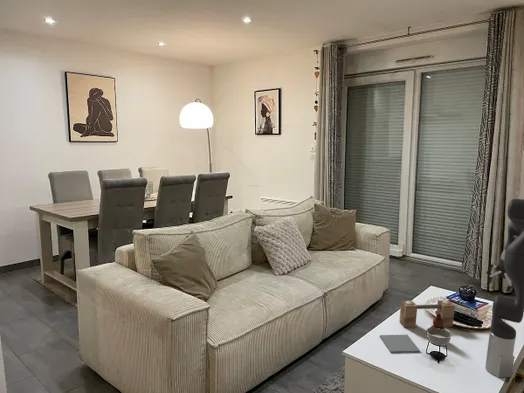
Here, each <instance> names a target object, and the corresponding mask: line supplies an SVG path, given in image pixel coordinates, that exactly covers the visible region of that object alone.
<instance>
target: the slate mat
mask: <svg viewBox="0 0 524 393" xmlns="http://www.w3.org/2000/svg"><path fill="white" fill-rule="evenodd" d="M379 338H380V339H381V341H382V342H383V344H384V346H385V347H386V348H387V350H388V351H389V353H390V354H401V353H405V354H406V353H421V350H420V348H419V347H418V346H417V345H416V343H415V342H414V341H413V340H412V339H411V337H410V336H409V335H408V334H379Z"/></svg>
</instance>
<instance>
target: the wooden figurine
mask: <svg viewBox="0 0 524 393" xmlns="http://www.w3.org/2000/svg"><path fill="white" fill-rule="evenodd" d="M436 314H437V316H436V315H435V317H434V318H433V320H432V325H431V326H430V327H429V329H430V328H440V329H444V330H445V331H446V329H445V328H446V327H443V324H444V321H443V319H441V315H440V314H439V313H438V312H437V311H436Z"/></svg>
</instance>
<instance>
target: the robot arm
mask: <svg viewBox="0 0 524 393" xmlns="http://www.w3.org/2000/svg"><path fill="white" fill-rule="evenodd" d="M506 210H507V211H506V213H507V217H508V219H509V221H510V223H508V225H507V241H506V243H505V246H504V249H503V251H502V252H501V255H500V257H499V261H498V263H497V265H496V264H495V263H490V265H489V266H488V269H487V271H486V275H488V280H487V283H488V284H490V285H491V284H492V282H493V280H494V277H495V276H498V277H499V278H502V279H504V280H506V281H507V283H508V284H507V287H506V289H505V292H506V293H508V292H510V291H512V288H513V289H514V292H515V297H516V298H512V297H507V296H503V295H495V297H494V298H493V301H492V309H491V310H492V311H491V323H490V329H489V334H488V335H489V336H488V344H487V350H486V358H485V359H486V360H485V369H486V371H487V372H488V373H490V375H493V376H495V377H497V378H512V377H513V370H514V364H515V356H514V350H515V343H516V337H517V330H516V329H515V328H514V327H513V326H512V325H511V324H508V323H507V322H506V321H508V322H513V323H516V324H519V323H521V322H522V320H523V318H524V199H523V198H513V199H511V200H510V201H509V202H508V205H507V209H506ZM493 269H495V272H494V273H493V272H492V271H493Z"/></svg>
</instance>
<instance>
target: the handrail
mask: <svg viewBox="0 0 524 393" xmlns="http://www.w3.org/2000/svg"><path fill="white" fill-rule="evenodd" d="M455 308H456V305H455V304H454V303H453V302H451V300H446V299H444V300H438V299H437V304H416V303H415V302H414V301H413V300H401V301H400V309H399V321H398V322H399V324H400V325H401V326H402V327H403V328H404V329H408V328H409V329H411V328H412V329H413V328H416V326H417V324H416V323H417V317H418V316H417V315H418V310H425V309H427V310H429V309H431V310H434V309H435V310H436V315H435V317H436V316H437V312H438V313H439V314H440V315H441V319H443V321H444V324H443V327H444V328H453V327H454V326H453V325H454V316H455V311H456V310H455Z"/></svg>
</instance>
